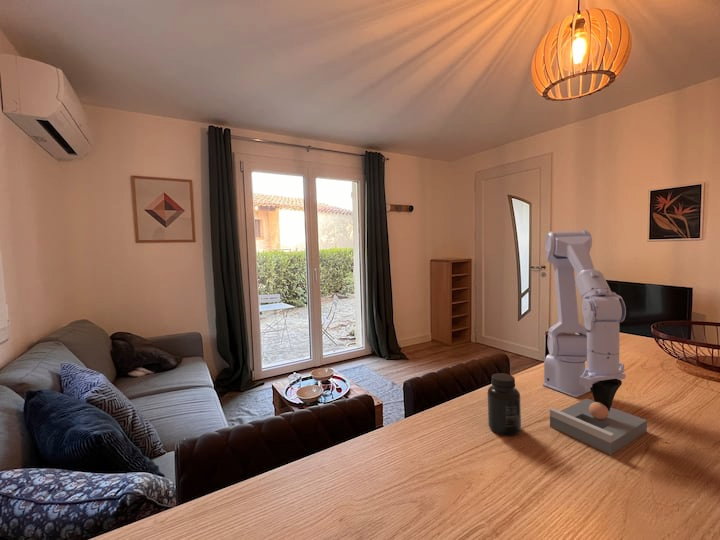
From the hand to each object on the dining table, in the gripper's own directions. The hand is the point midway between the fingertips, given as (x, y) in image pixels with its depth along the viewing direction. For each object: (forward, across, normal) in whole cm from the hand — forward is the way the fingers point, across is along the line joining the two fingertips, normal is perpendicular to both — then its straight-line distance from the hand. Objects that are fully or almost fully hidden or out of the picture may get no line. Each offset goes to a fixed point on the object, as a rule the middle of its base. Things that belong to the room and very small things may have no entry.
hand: (602, 410), depth 73 cm
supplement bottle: (+4, -18, +12) cm, 22 cm away
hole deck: (+4, -2, 0) cm, 4 cm away
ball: (0, -1, 0) cm, 1 cm away
